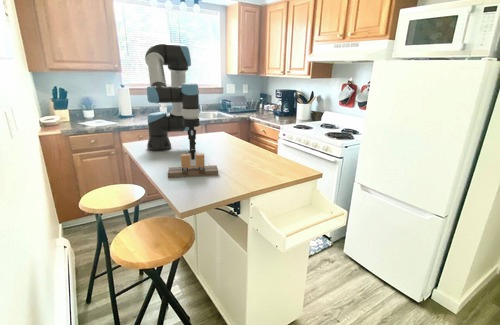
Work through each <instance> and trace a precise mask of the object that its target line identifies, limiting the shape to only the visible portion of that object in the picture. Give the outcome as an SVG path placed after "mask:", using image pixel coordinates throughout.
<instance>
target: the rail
mask: <svg viewBox="0 0 500 325" xmlns="http://www.w3.org/2000/svg"><path fill="white" fill-rule="evenodd" d="M209 176H211V177H213V176H219V168H218V165H215V164H214V165H205V167H203V170H200V167H187V171H183V168H182V166H171V167H168V170H167V179H172V178H173V179H174V178H175V179H177V178H188V177H190V178H194V177H195V178H196V177H209Z"/></svg>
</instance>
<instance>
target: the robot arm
mask: <svg viewBox="0 0 500 325" xmlns="http://www.w3.org/2000/svg"><path fill="white" fill-rule="evenodd" d="M144 55H145V56H144V59H145V64H146V66H147V68H148V76H149V86H147V87H146V94H147V95H146V96H147V101H148V103H151V104H167V103H169V104H171V107H172V108H171V110H169V113H168V114H167V112H166V111H158V112H151V113H149V114H148V115H147V127H148V128H147V129H148V141H147V144H146V147H147V150H148V151H152V152H163V150H164V151H167V150H170V149H171V148H172V143H171V140H170V139H169V135H168V134H169V133H177V132H180V133H181V132H187V136H188V138H187V139H188V142H189V143H188V144H189V150H188V153H187V154H190V166H196V154H197V152H196V151H197V150H196V145H197V142H196V139H197V138H196V137H197V130H196V127H200V118H199V117H200V113H201V110H200V105H199V104H200V101H199V100H200V97H199V92H200V91H199V85H198V84H197V83H192V82H191V83H190V82H188V83H187V81H186V80H187V78H186V75H187V74H186V73H187V72H188V71H189V67H191V66H192V62H191V53H190V49H189V47H188V46H187V45H186V44H182V43H163V42H159V43H155V44H153V45H151V46H150V47H149V48H148V49H147V51H146V52H145V54H144ZM164 66H167V69H168V70H169V71H170V86H167V81H166V77H165V70H164Z"/></svg>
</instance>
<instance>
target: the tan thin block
mask: <svg viewBox="0 0 500 325" xmlns="http://www.w3.org/2000/svg"><path fill="white" fill-rule="evenodd" d="M180 161H181V162H180V164H181V167H182V168H183V171H187V167H200V170H203V167H205V166H206V165H205V153H203V152H202V153H196V166H190V153H181V154H180Z"/></svg>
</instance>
